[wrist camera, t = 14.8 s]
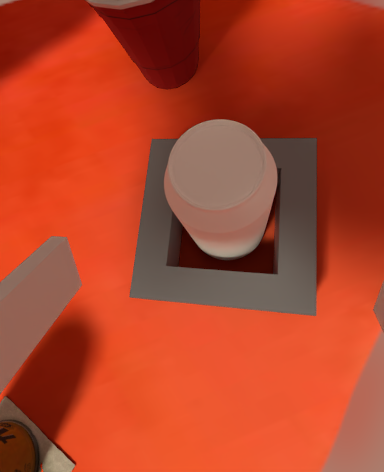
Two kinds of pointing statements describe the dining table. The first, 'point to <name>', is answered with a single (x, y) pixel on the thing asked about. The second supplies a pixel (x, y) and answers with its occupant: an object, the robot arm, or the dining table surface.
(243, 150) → the beverage can
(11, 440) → the condiment
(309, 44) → the dining table surface
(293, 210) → the square frame
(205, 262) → the dining table surface
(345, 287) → the dining table surface
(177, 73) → the plastic cup
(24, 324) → the robot arm
